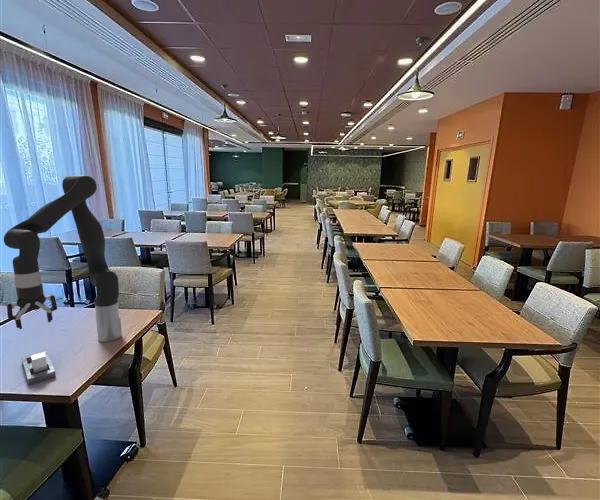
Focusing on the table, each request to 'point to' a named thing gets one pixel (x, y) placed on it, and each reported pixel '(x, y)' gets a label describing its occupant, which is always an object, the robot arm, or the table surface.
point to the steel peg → (39, 363)
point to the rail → (40, 376)
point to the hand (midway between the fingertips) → (35, 324)
